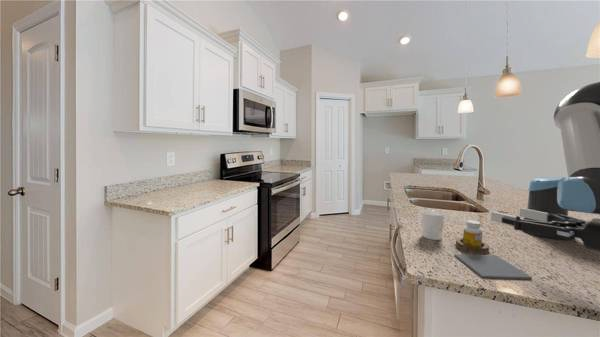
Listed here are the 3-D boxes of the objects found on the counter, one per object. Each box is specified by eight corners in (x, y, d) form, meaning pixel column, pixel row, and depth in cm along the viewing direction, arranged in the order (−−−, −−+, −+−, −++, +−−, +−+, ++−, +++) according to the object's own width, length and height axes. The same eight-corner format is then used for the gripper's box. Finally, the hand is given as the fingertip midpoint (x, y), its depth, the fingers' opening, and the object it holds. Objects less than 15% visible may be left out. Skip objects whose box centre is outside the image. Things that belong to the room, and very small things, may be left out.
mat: (495, 257, 78) (495, 255, 77) (531, 279, 65) (531, 277, 65) (454, 256, 78) (454, 254, 78) (482, 277, 65) (482, 275, 65)
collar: (476, 243, 89) (476, 237, 88) (495, 254, 79) (495, 248, 79) (450, 242, 89) (450, 237, 89) (466, 253, 80) (466, 248, 80)
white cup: (446, 241, 90) (448, 216, 89) (424, 240, 92) (425, 214, 91) (438, 234, 98) (440, 210, 97) (418, 232, 99) (419, 209, 98)
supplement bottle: (458, 245, 87) (460, 219, 86) (472, 244, 87) (474, 219, 86) (470, 251, 81) (472, 224, 80) (485, 251, 82) (487, 224, 81)
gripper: (583, 263, 49) (478, 230, 69) (638, 247, 58) (530, 221, 78) (587, 228, 49) (479, 205, 69) (642, 217, 57) (532, 199, 77)
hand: (506, 213), depth 73 cm, fingers open, 13 cm apart
